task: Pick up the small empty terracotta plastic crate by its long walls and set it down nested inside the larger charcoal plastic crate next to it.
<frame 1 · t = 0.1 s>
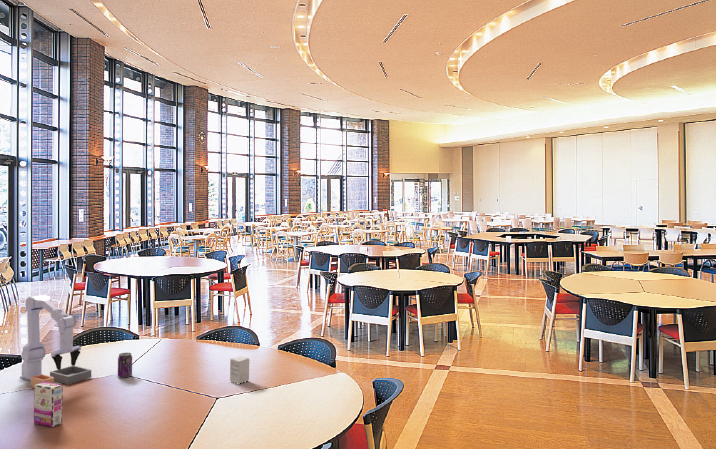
hand: (66, 367, 258), 10 cm above the table, tool pointing down, fingers open, 7 cm apart
grey drawer cabinet: (239, 382, 273), on the table
beverage can: (124, 376, 277), on the table
big crate: (70, 378, 271), on the table
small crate: (42, 387, 257), on the table
candy bar box: (48, 423, 215), on the table
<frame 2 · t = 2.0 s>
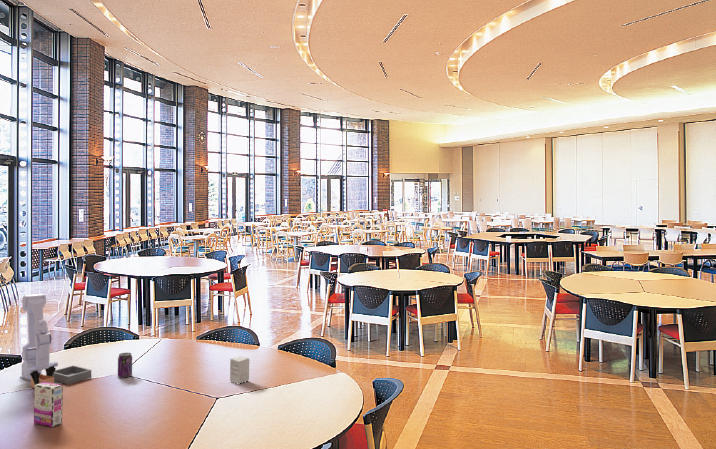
hand: (42, 383, 257), 1 cm above the table, tool pointing down, fingers closed on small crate, 5 cm apart
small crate: (42, 386, 257), on the table, touching gripper
everything else where it was.
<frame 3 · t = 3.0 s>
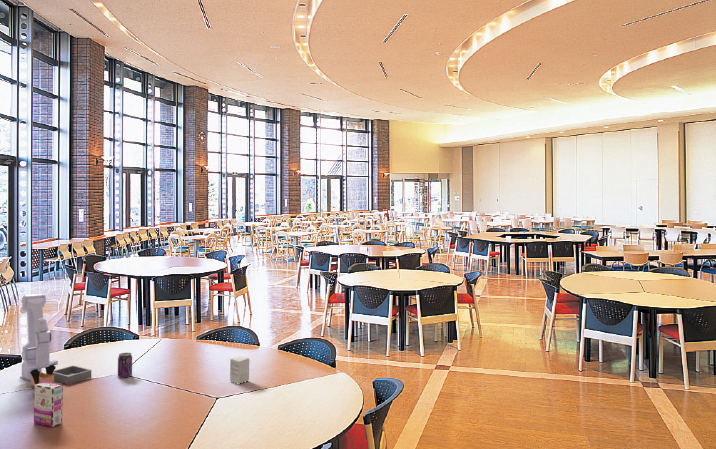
hand: (42, 382, 257), 2 cm above the table, tool pointing down, fingers closed on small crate, 5 cm apart
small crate: (42, 385, 257), point 1 cm above the table, touching gripper
everything else where it was.
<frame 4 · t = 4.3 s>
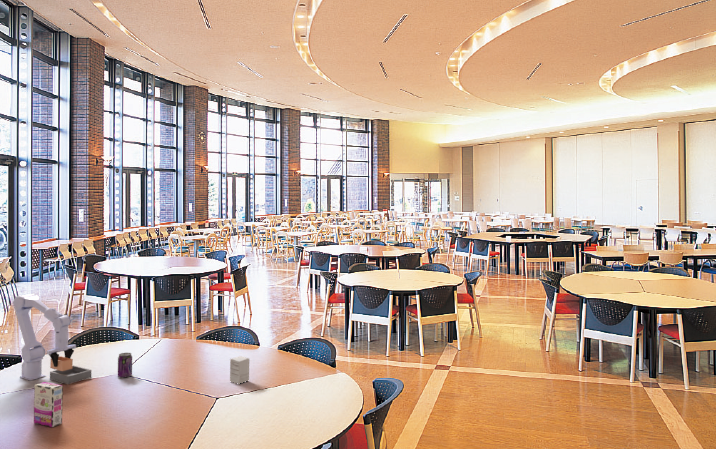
hand: (61, 365, 266), 8 cm above the table, tool pointing down, fingers closed on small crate, 5 cm apart
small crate: (61, 368, 266), point 7 cm above the table, touching gripper
everything else where it was.
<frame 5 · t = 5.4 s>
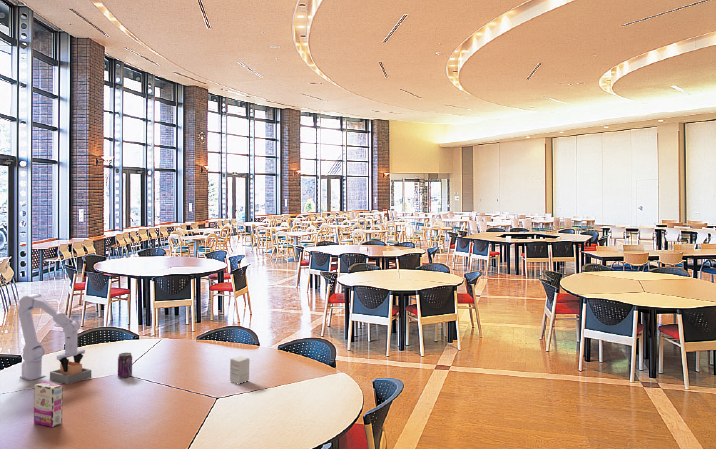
hand: (70, 369, 270), 4 cm above the table, tool pointing down, fingers closed on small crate, 5 cm apart
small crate: (71, 373, 270), point 3 cm above the table, touching gripper
everything else where it was.
when the fingers open (4 cm above the table, at t = 6.1 s): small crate drops 1 cm, resting on big crate.
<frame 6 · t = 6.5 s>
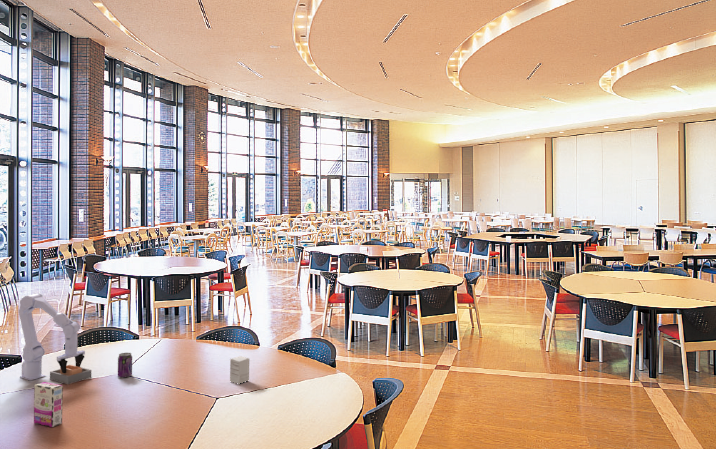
hand: (70, 370, 270), 4 cm above the table, tool pointing down, fingers open, 7 cm apart
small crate: (71, 376, 271), point 1 cm above the table, touching big crate
everything else where it was.
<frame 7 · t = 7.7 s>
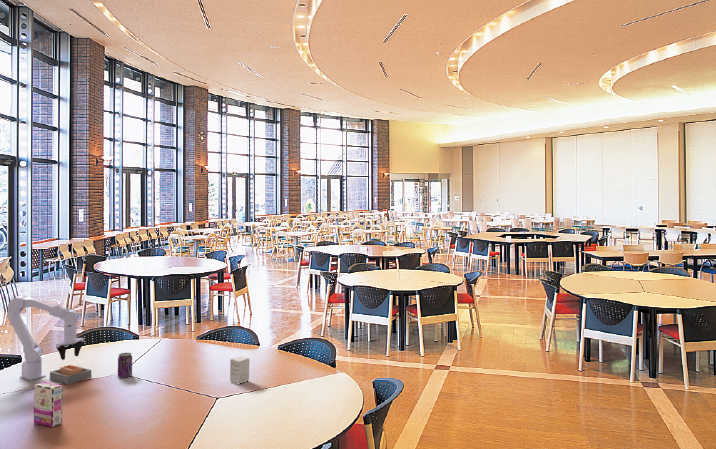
hand: (69, 357, 275), 9 cm above the table, tool pointing down, fingers open, 7 cm apart
nothing on the table moved.
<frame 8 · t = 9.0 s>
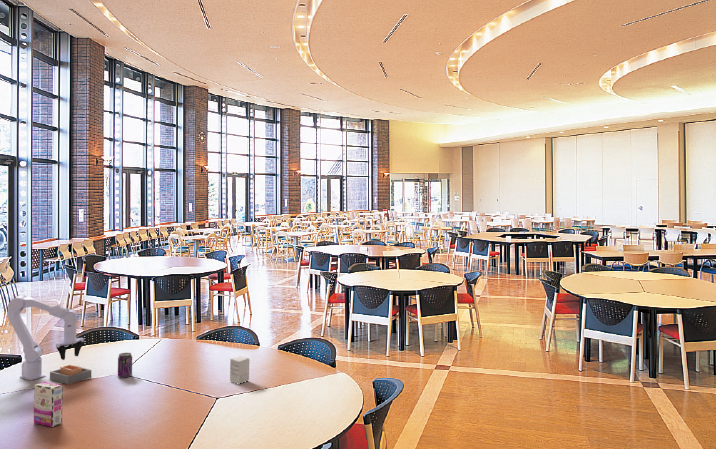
hand: (69, 357, 275), 9 cm above the table, tool pointing down, fingers open, 7 cm apart
nothing on the table moved.
at the end: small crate 0.1 cm off-centre on the big crate, point 0.8 cm above the big crate's base; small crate tilted 0°; the gripper is holding nothing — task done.
